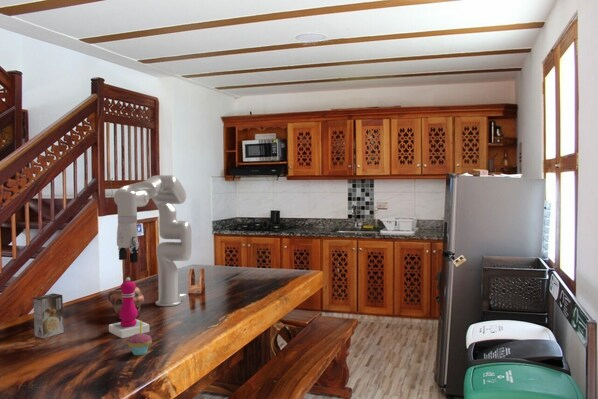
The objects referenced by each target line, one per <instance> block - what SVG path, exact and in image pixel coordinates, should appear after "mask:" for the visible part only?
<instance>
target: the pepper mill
mask: <svg viewBox="0 0 598 399" xmlns="http://www.w3.org/2000/svg"><path fill="white" fill-rule="evenodd" d="M120 287H121V288H120ZM120 287H119V288H120V289H121V291H122V292H123V293H122V297H123V305H122V308H121V310H120V313H119V317H120V320H121V321H120V322H121V326H122V327H132V326H135V325H136V319H137V318H138V317H137V315H138V313H137V309H136V307H135V305H134V300H133V297H134V296H135V295H134V290H135V289H136V287H137V286H136V283H135V282H134V281H133V280H132V281H131V277H126V278H125V281H124V282H122V283H121V285H120ZM136 317H137V318H136Z"/></svg>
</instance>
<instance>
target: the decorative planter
mask: <svg viewBox="0 0 598 399" xmlns="http://www.w3.org/2000/svg"><path fill="white" fill-rule="evenodd" d="M120 288H121V286H120V287H116V288H114V289H112V290H110V291H109V292H108V293H107V299H108V301H109V303H110V304H111V305H112V307H113V309H114V311H115V314H116V318H118V319H120V317H119V313H120V310H121V308H122V305H123V297H122V293H123V292H122V291H121V289H120ZM134 295H135V296H134V297H133V300H134V305H135V307H136V309H137V313H138V315H137V317H136V318H135V319H137V318H138V317H141V305H142V304H143V303H144V302H145V297H144V295H143V293H142V291H141V289H140V288H139V287H137V286H136V289H135V290H134ZM120 320H121V319H120Z"/></svg>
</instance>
